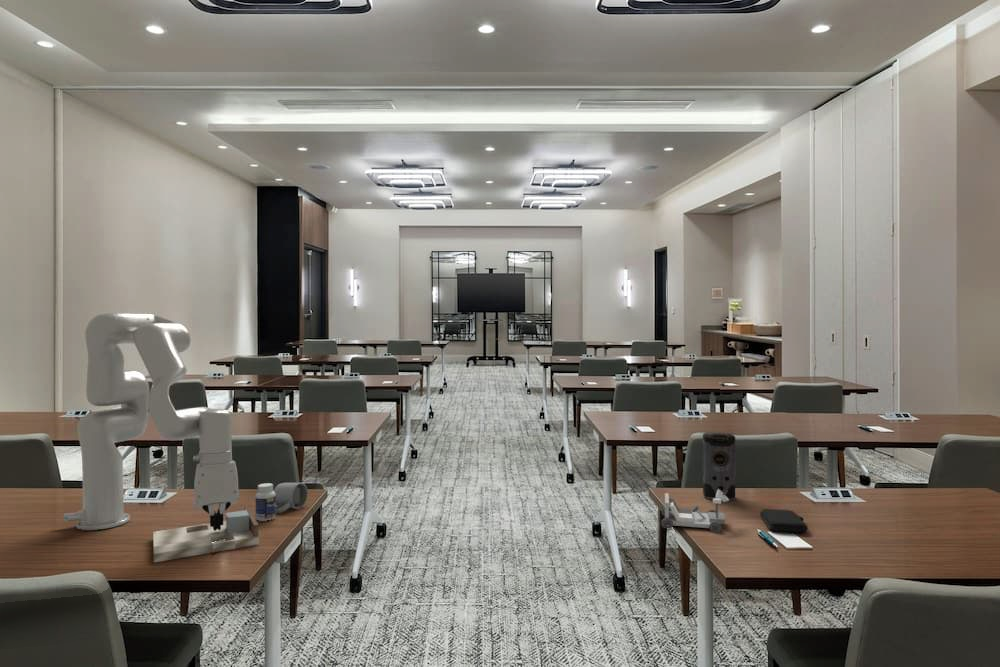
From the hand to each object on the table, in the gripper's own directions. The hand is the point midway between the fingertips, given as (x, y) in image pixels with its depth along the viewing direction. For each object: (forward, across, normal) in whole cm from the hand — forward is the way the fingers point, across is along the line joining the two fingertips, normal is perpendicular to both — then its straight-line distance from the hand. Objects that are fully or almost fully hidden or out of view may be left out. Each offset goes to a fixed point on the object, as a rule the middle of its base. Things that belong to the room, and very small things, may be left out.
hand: (216, 528), depth 157 cm
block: (+1, +5, 0) cm, 5 cm away
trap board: (+3, -3, 0) cm, 4 cm away
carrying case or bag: (+4, +135, -68) cm, 151 cm away
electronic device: (+4, +142, -40) cm, 147 cm away
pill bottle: (+3, +14, +12) cm, 19 cm away
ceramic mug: (+3, +21, +19) cm, 29 cm away
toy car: (+4, +115, -54) cm, 128 cm away
